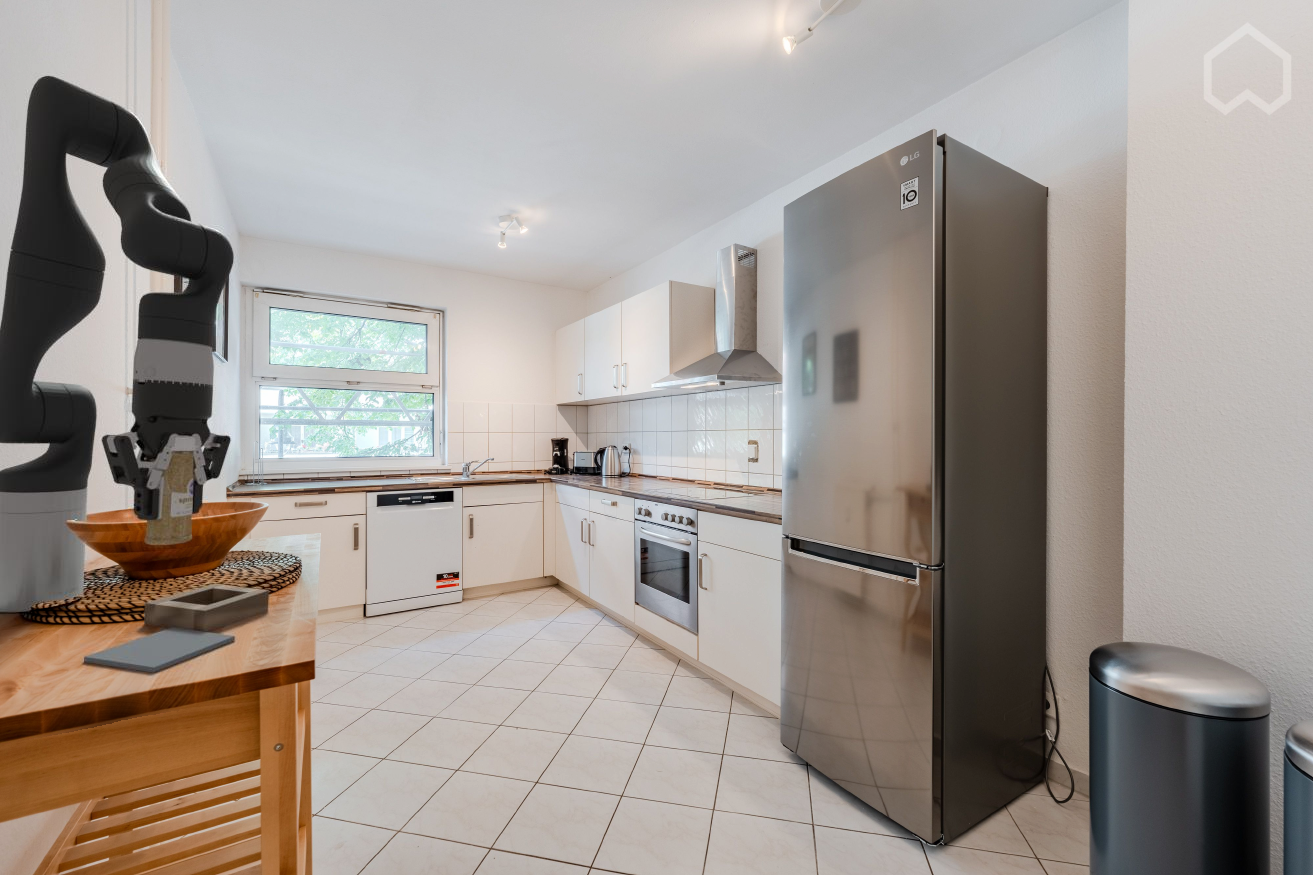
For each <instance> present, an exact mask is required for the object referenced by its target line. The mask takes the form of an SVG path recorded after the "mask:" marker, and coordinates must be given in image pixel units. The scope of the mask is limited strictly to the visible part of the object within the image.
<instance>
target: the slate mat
mask: <svg viewBox="0 0 1313 875" xmlns="http://www.w3.org/2000/svg"><path fill="white" fill-rule="evenodd" d="M235 640H236V636H235V635H229V634H224V633H223V634H222V633H215V632H210V631H207V632H202V631H195V630H187V629H180V628H173V627H172V628H167V629H164V630H161V631H158V632H155V633H151V634H149V635H148V634H147V635H146V636H142V637H140V638H137V639H134V640H129V641H127V642H125V643H122V644H117V645H115V646H111V647H109V648H107V649H103V650H101V651H100V650H99V651H97V652H94V653H90V654H88V655H84V657H83V662H84V663H89V664H90V663H91V664H97V665H102V666H103V665H104V666H109V667H116V668H123V669H128V670H134V671H140V672H148V673H154V674H155V672H158V671H162V670H164V669H166V668H169V667H172V666H173V665H176V664H179V663H182V662H184V661H186V660H189V659H192V658H194V657H196V656H199V655H201V654H204V653H207V652H209V651H212V650H214V649H218V648H219V647H222V646H224V645H227V644H229V643H231V642H234V641H235Z"/></svg>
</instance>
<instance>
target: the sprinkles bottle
mask: <svg viewBox="0 0 1313 875" xmlns="http://www.w3.org/2000/svg"><path fill="white" fill-rule="evenodd" d="M195 450H196V447H195V438H194V437H191V436H179V437H177V438H176V439H175V446H174V447H172V448H170V451H172V453H171V454H172V457H171V460H170V463H169V465H168V468H167V469H166V470H165V471H163V473H162V475H161V478H160V481H159V483H158V486H157V487H156V488H155V489H159V509H158V518H157V519H155V520H146V528H145V533H146V534H145V537H144V543H146V544H147V545H152V546H170V545H171V546H173V545H177V544H183V543H186V542H189V541H191V540H192V539H193V535H192V517H193V516H192V515H193V514H192V508H193V465H194V463H193V461H194V459H193V454H194V452H193V451H195ZM155 460H156V459H149V462H154V461H155Z"/></svg>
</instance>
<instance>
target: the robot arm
mask: <svg viewBox="0 0 1313 875" xmlns="http://www.w3.org/2000/svg"><path fill="white" fill-rule="evenodd" d="M26 112H27V113H26V122H25V123H26V124H25V138H24V139H25V141H24V156H23V157H24V159H23V161H24V162H23V175H22V176H23V177H22V186H21V187H22V189H21V195H20V201H19V208H18V211H17V217H16V218H17V219H16V223H15V228H14V232H13V238H12V243H11V246H10V251H9V252H10V254H9V258H8V259H9V260H8V265H7V273H6V282H5V290H4V300H3V307H2V315H1V322H0V444H12V445H13V444H16V445H17V444H24V445H25V444H27V445H28V444H35V445H36V444H40V445H41V444H43V445H44V444H49V445H48V448H47V450H46V451H45V452H44V453H43V454H42V455H40V456H38V457H36V458H34V459H32V460H29V461H27V462H24V463H22V464H18V465H14V466H10V467H7V468H4V469H2V470H0V613H19V612H30V609H31V607H32V606H34V605H35V604H38V603H43V602H50V601H59V600H65V599H69V598H74V597H77V596H79V595H81V594H83V595H84V579H85V577H84V576H85V564H86V563H85V562H86V560H85V558H86V543H85V544H84V543H83V542H82V541H81V540H80V539H79V538H78V537H77V536H76V535H75V534H74V533H73V531H71V530H70V529H69V527H68V526H67V525H66V521H67V520H75V519H77V520H75V521H84V522H86V523H87V514H88V513H87V511H88V510H87V508H88V481H89V476H90V474H91V470H92V466H93V465H92V464H93V454H94V444H95V435H96V427H97V419H98V418H97V416H98V415H97V413H98V412H97V411H98V410H97V404H96V399H95V397H94V394H93V393H92V392H91V390H90V389H88V388H87V387H86V386H83V385H79V384H75V383H63V382H50V381H38V380H37V381H36V380H35V376H36V373H37V370H38V368H39V366H40V363H41V361H42V360H43V359H44V357H45V355H46V353H47V352H48V351H49V350H50V348H51V347H52V346H53V345H54V344H55V343H56V342H58V340H60V339H61V338H62V337H64V335H66V334H68V332H69V331H71V330H72V329H74V328H75V327H76V326H77V325H79V323H81V322H82V321H84V319H85V318H87V317H88V316H89V314H91V313H92V312H93V311H94V309H95V308H96V307H97V306H98V305H99V303H100V300H101V295H102V289H103V283H104V277H105V272H106V266H107V265H106V264H107V263H106V261H107V260H106V256H105V252H104V251H103V249H102V246H101V244H100V242H99V240H98V239H97V237H96V235H95V233H94V231H93V230H92V228H91V226H90V224H89V223H88V222H87V220H86V218H85V216H84V215H83V213H82V211H81V209H80V208H79V206H78V204H77V202H76V199H75V198H74V196H73V192H72V190H71V187H70V183H69V178H68V173H67V172H68V171H67V155H70V156H72V157H75V158H78V159H81V160H83V161H86V162H89V163H92V164H95V165H97V166H99V167H102V168H106V169H105V172H104V174H103V176H102V188H103V191H104V195H105V197H106V199H107V200H108V202H109V204H110V205H111V207H112V208H113V209H114V211H115V213H116V214H117V216H118V217H119V219H120V220H119V221H120V226H121V231H120V232H121V233H120V245H121V250H122V252H123V254H124V255H125V257H126V258H127V259H129V261H131V262H133V263H134V264H135V265H137V266H139V267H141V268H143V269H146V270H149V271H151V272H157V273H161V274H166V275H170V276H175V277H179V278H184V279H188V284H187V285H186V287H185V289H184V290H183V291H182V292H164V291H162V292H161V291H159V292H148V293H145V294H143V295H142V296H141V298H140V299H139V304H138V321H137V342H136V347H135V351H134V356H133V371H132V372H133V374H132V395H131V398H132V399H131V413H132V415H133V416H134V418H135V419H134V422H133V425H131V427H130V430H129V431H126V432H123V433H119V434H105V435H104V436H103V435H102V438H101V443H102V446H103V450H104V452H105V455H106V459H107V463H108V466H109V469H110V471H111V475H112V478H113V482H114V483H115V484H118V485H125V486H129V487H131V488H132V489H133V513H134V515H135V516H136V517H137V518H138V519H139V520H142V521H147V520H155V519H157V518H158V509H159V489H155V488H156V487H157V486H158V483H159V481H160V478H161V475H162V473H163V471H165V470H166V469H167V468H168V465H169V463H170V460H171V457H172V454H171V453H172V451H170V448H172V447H174V446H175V439H176V438H177V437H179V436H191V437H194V438H195V447H196V450H195V451H193V452H194V454H193V459H194V461H193V463H194V465H193V508H192V515H196V514H199V512H200V509H202V506H203V499H204V498H203V496H204V485H205V484H206V483H207V482H208V481H210V480H212V479H214V480H215V479H218V478H219V477H220V475H221V472H222V469H223V466H224V462H225V459H226V458H227V453H228V450H229V448H230V447H229V446H230V444H231V441H232V440H231V437H230V436H229V435H225V434H222V435H221V434H216V433H212V432H211V430H210V428H209V426H208V420H209V419H211V418H212V415H213V399H214V398H213V396H214V374H215V372H214V371H215V369H214V368H215V366H214V365H215V363H214V356H213V355H214V354H213V339H214V338H213V337H214V319H215V318H214V317H215V314H216V310H217V307H218V303H219V301H220V299H221V295H222V292H223V290H224V287H225V284H226V283H227V281H228V278H229V276H230V274H231V271H232V269H233V265H234V259H235V257H234V250H233V246H232V245H231V242H230V240H229V239H228V238H227V236H226V235H224V234H223V232H221V231H219V230H217V229H215V228H212V227H209V226H206V225H202V224H200V223H196V222H192V218H191V213H190V212H189V210H188V209H189V208H188V207H187V205H186V203H184V201H183V200H182V198H181V197H180V196H179V195H178V193H177V192H176V191H175V189H174V187H172V185H171V184H170V183H169V182H168V180H167V179H166V177H165V175H164V174H163V170H162V169H161V166H160V163H159V161H158V158H157V155H156V152H155V150H154V147H153V144H152V142H151V139H150V137H149V134H148V132H147V130H146V128H145V126H144V125H143V123H142V122H141V120H140V119H139V118H138V117H137V116H136V114H134V113H133V112H132V111H130V110H129V109H127V108H125V107H124V106H122V105H120V104H117V103H115V102H113V101H111V100H109V99H107V98H104V97H102V96H101V95H97V94H95V93H93V92H91V91H89V90H86V89H84V88H82V87H80V86H78V85H75V84H73V83H71V82H68V81H66V80H64V79H61V78H58V77H56V76H52V75H45V76H42V77H40V78H38V79H37V80H36V82H35V83H34V85H33V87H32V89H31V91H30V94H29V99H28V103H27V111H26ZM202 447H203V449H202ZM137 448H139V451H138V453H137V456H136V453H135V450H136V449H137ZM149 459H156V460H155V461H154V462H149Z"/></svg>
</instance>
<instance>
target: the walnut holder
mask: <svg viewBox="0 0 1313 875" xmlns="http://www.w3.org/2000/svg"><path fill="white" fill-rule="evenodd" d="M269 593H270V590H269V589H268V590H267V589H260V588H251V587H243V586H235V585H228V584H227V585H226V584H219V583H217V584H216V583H213V584H210V585H205V586H202V587H198V588H196V589H191V590H188V591H184V592H180V593H176V594H173V595H169V596H165V597H161V598H158V599H155V600H151V601H147V602H145V604H144V620H143V621H144V622H143V625H147V626H154V627H160V628H161V627H162V628H167V629H169V628H172V627H173V628H180V629H187V630H195V631H202V632H210V631H213V630H215V629H218V628H221V627H223V626H227V625H229V624H232V623H234V622H238V621H240V620H243V619H245V618H249V617H251V616H255V615H257V614H261V613H263V612H266V611H268V610H269V598H270V594H269Z"/></svg>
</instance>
